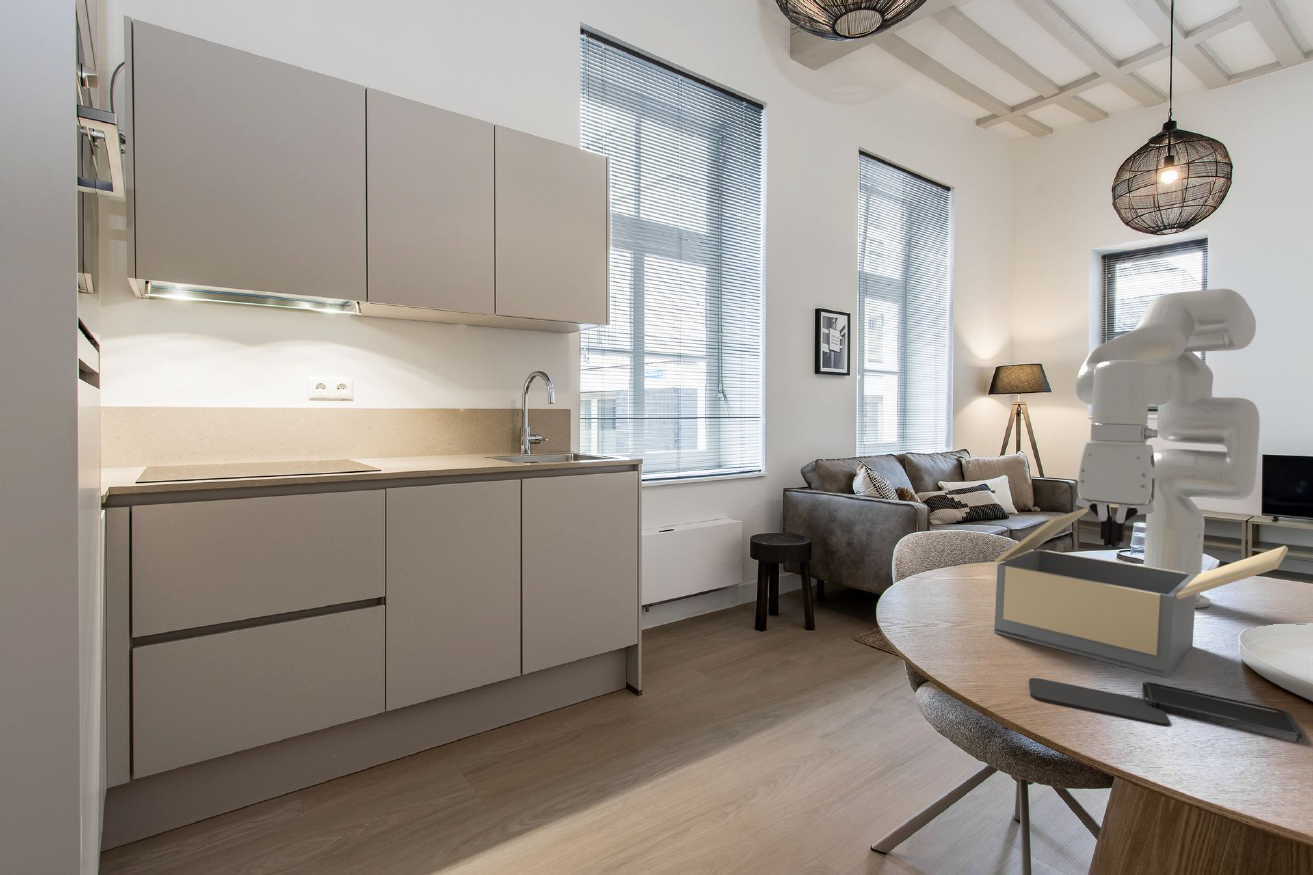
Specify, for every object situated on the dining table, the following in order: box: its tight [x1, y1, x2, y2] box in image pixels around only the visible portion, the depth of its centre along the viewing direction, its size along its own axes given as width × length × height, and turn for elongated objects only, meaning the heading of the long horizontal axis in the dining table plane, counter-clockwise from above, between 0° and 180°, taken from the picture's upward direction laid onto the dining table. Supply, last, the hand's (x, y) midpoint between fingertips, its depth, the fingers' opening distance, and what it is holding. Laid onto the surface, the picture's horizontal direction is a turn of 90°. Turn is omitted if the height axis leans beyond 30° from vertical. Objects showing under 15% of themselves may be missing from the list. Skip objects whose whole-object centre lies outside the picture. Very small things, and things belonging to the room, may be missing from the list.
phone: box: [1028, 677, 1171, 727], centre depth 85 cm, size 7×1×15 cm
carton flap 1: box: [994, 508, 1090, 564], centre depth 115 cm, size 20×12×1 cm
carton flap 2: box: [1176, 545, 1289, 599], centre depth 96 cm, size 20×12×1 cm
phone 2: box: [1141, 681, 1303, 743], centre depth 83 cm, size 8×1×15 cm
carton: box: [993, 548, 1197, 679], centre depth 109 cm, size 21×24×12 cm
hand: (1111, 544), depth 107 cm, fingers closed
